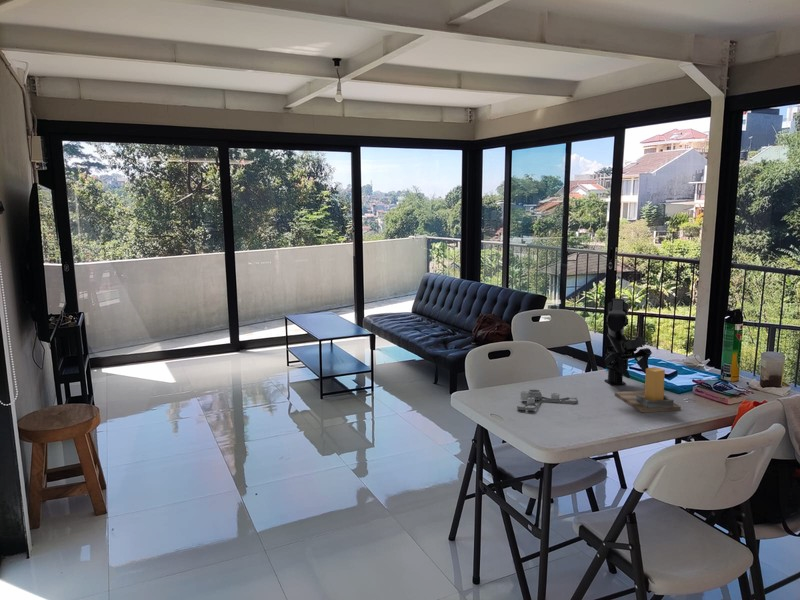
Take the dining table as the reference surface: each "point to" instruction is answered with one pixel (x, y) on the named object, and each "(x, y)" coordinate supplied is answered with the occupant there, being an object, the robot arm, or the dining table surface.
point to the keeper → (646, 402)
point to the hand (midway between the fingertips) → (638, 376)
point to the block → (654, 384)
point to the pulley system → (537, 395)
